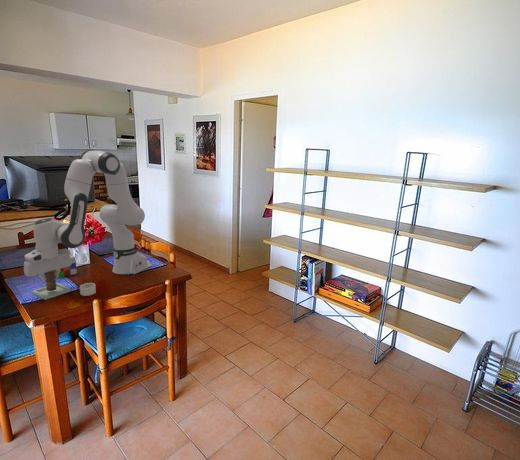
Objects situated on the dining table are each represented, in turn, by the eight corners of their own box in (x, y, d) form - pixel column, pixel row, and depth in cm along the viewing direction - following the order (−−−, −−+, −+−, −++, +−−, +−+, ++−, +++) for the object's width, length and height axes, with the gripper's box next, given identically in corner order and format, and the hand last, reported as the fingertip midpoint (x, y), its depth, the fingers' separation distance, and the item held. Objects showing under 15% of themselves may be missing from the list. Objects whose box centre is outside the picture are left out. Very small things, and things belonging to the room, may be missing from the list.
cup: (90, 289, 168) (90, 281, 167) (98, 293, 165) (98, 285, 164) (77, 294, 163) (76, 286, 161) (85, 298, 159) (84, 289, 158)
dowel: (53, 286, 164) (51, 268, 162) (58, 289, 162) (56, 269, 160) (45, 289, 161) (42, 270, 159) (49, 291, 159) (47, 272, 157)
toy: (76, 273, 188) (75, 257, 185) (57, 278, 180) (55, 261, 178) (69, 269, 194) (68, 252, 191) (51, 273, 186) (49, 256, 184)
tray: (58, 286, 170) (57, 282, 170) (71, 292, 164) (70, 288, 164) (32, 294, 160) (32, 290, 160) (45, 301, 154) (45, 297, 154)
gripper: (65, 246, 167) (68, 271, 171) (20, 256, 150) (24, 284, 154) (72, 248, 164) (75, 274, 168) (27, 259, 147) (30, 288, 151)
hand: (50, 279), depth 160 cm, fingers closed on dowel, 4 cm apart
